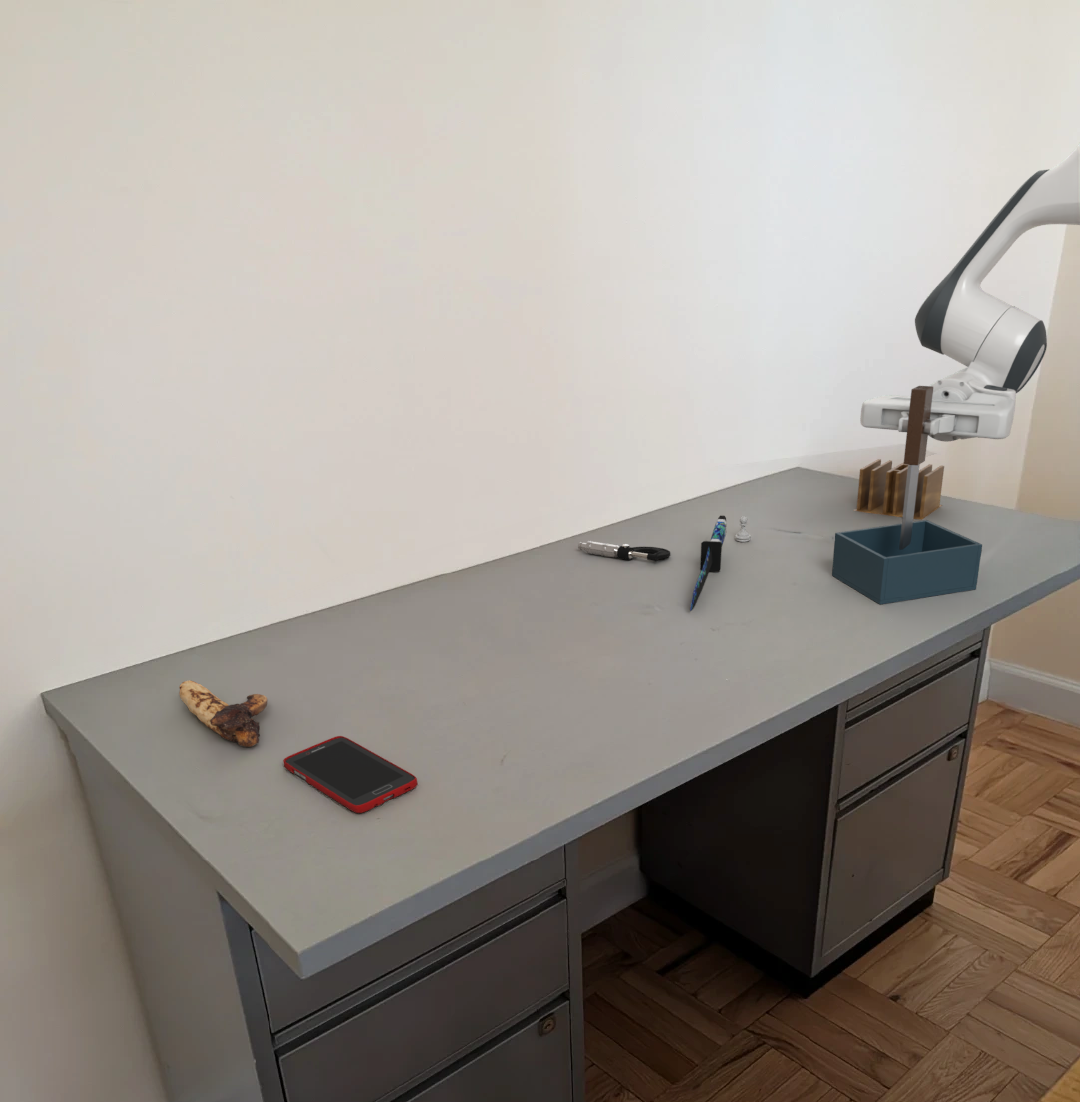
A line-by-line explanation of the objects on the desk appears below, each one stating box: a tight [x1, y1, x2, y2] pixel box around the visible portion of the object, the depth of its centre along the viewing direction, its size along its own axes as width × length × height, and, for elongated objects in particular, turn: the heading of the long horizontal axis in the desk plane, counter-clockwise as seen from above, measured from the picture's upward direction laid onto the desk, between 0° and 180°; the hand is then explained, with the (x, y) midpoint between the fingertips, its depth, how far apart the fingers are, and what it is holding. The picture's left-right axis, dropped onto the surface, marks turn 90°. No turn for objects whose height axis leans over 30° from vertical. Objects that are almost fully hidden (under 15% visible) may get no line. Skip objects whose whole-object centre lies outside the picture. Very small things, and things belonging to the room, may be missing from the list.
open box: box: [831, 519, 983, 605], centre depth 149 cm, size 15×13×7 cm
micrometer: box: [577, 540, 671, 562], centre depth 169 cm, size 15×7×2 cm, turn 55°
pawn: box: [734, 515, 752, 543], centre depth 172 cm, size 3×3×4 cm
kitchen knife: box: [899, 385, 933, 550], centre depth 143 cm, size 2×3×22 cm, turn 142°
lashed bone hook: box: [178, 680, 269, 748], centre depth 121 cm, size 9×5×18 cm
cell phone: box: [282, 735, 418, 814], centre depth 108 cm, size 8×15×1 cm, turn 43°
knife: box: [689, 514, 728, 612], centre depth 156 cm, size 31×3×4 cm, turn 159°
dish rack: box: [852, 458, 945, 521], centre depth 179 cm, size 12×10×8 cm
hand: (916, 427), depth 140 cm, fingers closed on kitchen knife, 2 cm apart
